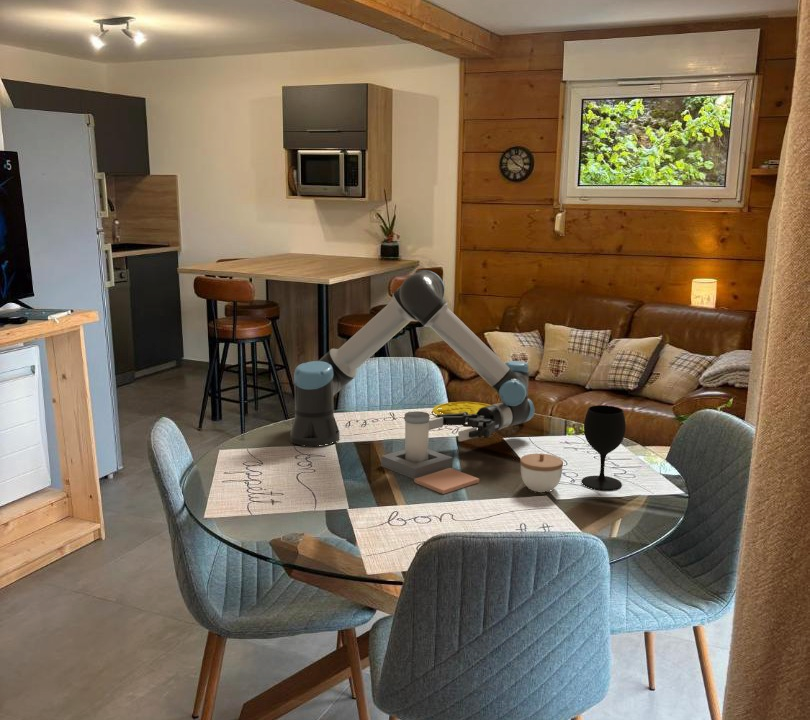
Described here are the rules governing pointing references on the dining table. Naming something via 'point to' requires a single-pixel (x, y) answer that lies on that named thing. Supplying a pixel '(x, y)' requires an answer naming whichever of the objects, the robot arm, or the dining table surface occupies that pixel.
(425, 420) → the filter cartridge
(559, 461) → the lidded jar
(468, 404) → the decorative medallion
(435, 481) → the rubber mat
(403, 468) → the frame
